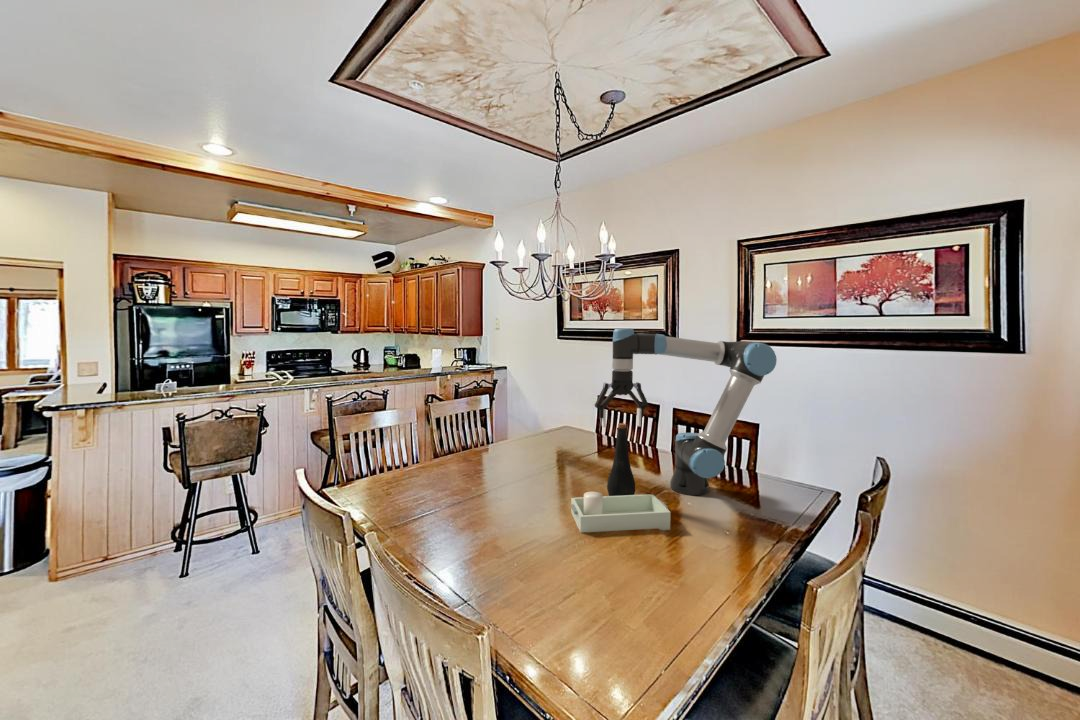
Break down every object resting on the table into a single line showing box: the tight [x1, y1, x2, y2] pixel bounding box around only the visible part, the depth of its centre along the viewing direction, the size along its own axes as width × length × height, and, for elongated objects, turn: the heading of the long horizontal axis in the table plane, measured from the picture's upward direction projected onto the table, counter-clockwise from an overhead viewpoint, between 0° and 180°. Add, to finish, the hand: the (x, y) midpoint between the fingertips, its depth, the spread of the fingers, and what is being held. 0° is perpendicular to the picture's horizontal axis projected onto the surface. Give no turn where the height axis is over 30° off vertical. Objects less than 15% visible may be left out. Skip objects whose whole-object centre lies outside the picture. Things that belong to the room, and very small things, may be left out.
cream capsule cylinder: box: [583, 491, 604, 515], centre depth 154 cm, size 6×6×9 cm
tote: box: [570, 493, 672, 534], centre depth 156 cm, size 32×16×6 cm, turn 97°
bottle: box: [606, 422, 636, 496], centre depth 172 cm, size 11×11×30 cm
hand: (621, 426), depth 171 cm, fingers open, 13 cm apart
